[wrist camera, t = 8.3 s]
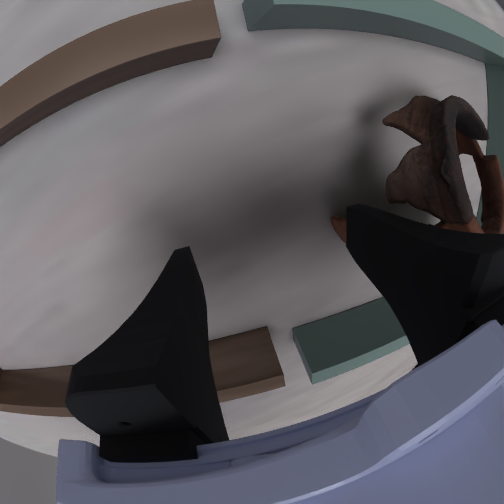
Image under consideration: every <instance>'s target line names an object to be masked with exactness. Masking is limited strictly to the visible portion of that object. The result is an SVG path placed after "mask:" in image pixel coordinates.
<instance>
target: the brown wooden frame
mask: <svg viewBox="0 0 504 504" xmlns="http://www.w3.org/2000/svg"><path fill="white" fill-rule="evenodd" d="M220 39H221V34H220V29H219V25H218V20H217V15H216V10H215V5H214V1H213V0H191V1H186V2H182V3H177V4H173V5H169V6H165V7H161V8H157V9H154V10H150V11H147V12H144V13H140V14H137V15H134V16H131V17H128V18H125V19H123V20H120V21H117V22H115V23H112V24H109V25H107V26H104V27H102V28H100V29H97V30H95V31H93V32H90V33H88V34H86V35H84V36H82V37H80V38H78V39H76V40H74V41H72V42H70V43H68V44H66V45H64V46H62V47H60V48H58V49H57V50H55V51H53V52H51V53H50V54H48V55H46V56H44V57H43V58H41V59H39V60H38V61H36V62H35V63H33V64H32V65H30V66H28V67H27V68H25V69H24V70H23V71H21V72H20V73H18V74H17V75H15V76H14V77H13V78H11V79H10V80H8V81H7V82H6V83H4V84H3V85H2V86H1V87H0V147H1V146H2V145H3V144H5V143H6V142H8V141H9V140H11V139H12V138H14V137H15V136H17V135H18V134H20V133H21V132H23V131H24V130H26V129H27V128H29V127H31V126H32V125H34V124H36V123H37V122H39V121H41V120H42V119H44V118H46V117H48V116H49V115H51V114H53V113H55V112H57V111H59V110H61V109H62V108H64V107H66V106H68V105H70V104H72V103H74V102H77V101H79V100H81V99H83V98H85V97H87V96H89V95H92V94H94V93H96V92H99V91H101V90H103V89H106V88H108V87H111V86H113V85H116V84H118V83H121V82H124V81H127V80H129V79H132V78H135V77H138V76H141V75H144V74H147V73H150V72H154V71H157V70H160V69H164V68H167V67H171V66H175V65H179V64H183V63H187V62H191V61H195V60H200V59H205V58H210V57H212V55H213V53H214V51H215V49H216V47H217V45H218V43H219V41H220ZM209 354H210V361H211V366H212V372H213V377H214V382H215V386H216V391H217V395H218V400H219V402H224V401H229V400H233V399H238V398H242V397H246V396H250V395H254V394H258V393H262V392H266V391H269V390H273V389H277V388H280V387H283V386H285V380H284V374H283V372H282V369H281V366H280V363H279V360H278V357H277V354H276V351H275V348H274V346H273V343H272V340H271V337H270V334H269V331H268V328H267V327H263V328H259V329H256V330H252V331H248V332H244V333H241V334H237V335H233V336H229V337H225V338H221V339H217V340H212V341H209ZM72 366H73V365H71V366H62V367H52V368H40V369H26V370H6V371H2V370H1V369H0V411H4V412H12V413H20V414H29V415H41V416H59V417H74V416H73V415H72V414H71V413H70V412H69V410H68V409H67V407H66V405H65V397H66V392H67V387H68V383H69V378H70V373H71V369H72Z"/></svg>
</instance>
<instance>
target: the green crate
mask: <svg viewBox="0 0 504 504" xmlns="http://www.w3.org/2000/svg"><path fill="white" fill-rule="evenodd" d="M242 5H243V10H244V14H245V19H246V24H247V28H248V31H256V30H268V29H288V28H320V29H340V30H352V31H361V32H369V33H377V34H383V35H389V36H395V37H400V38H405V39H410V40H414V41H418V42H422V43H426V44H430V45H434V46H437V47H441V48H444V49H447V50H451V51H454V52H457V53H460V54H462V55H465V56H468V57H471V58H473V59H476V60H478V61H481V62H483V63H485V65H486V75H487V89H488V134H489V139H488V140H487V153H486V156H488V155H497V157H498V160H499V163H500V167H501V172H502V177H503V183H504V37H502V36H500V35H499V34H497V33H496V32H494V31H493V30H491V29H489V28H488V27H486V26H484V25H482V24H481V23H479V22H477V21H475V20H473V19H472V18H470V17H468V16H466V15H464V14H462V13H460V12H458V11H456V10H454V9H452V8H449V7H447V6H445V5H443V4H440V3H438V2H436V1H433V0H244V2H243V3H242ZM481 214H482V194H481V199H480V204H479V209H478V214H477V221H478V223H479V225H480V227H481V226H482V223H481ZM503 234H504V233H503ZM293 335H294V342H295V345H296V347H297V349H298V352H299V354H300V357H301V359H302V361H303V364H304V366H305V369H306V371H307V373H308V376H309V378H310V381H311V383H312V384H315V383H318V382H321V381H324V380H326V379H329V378H332V377H335V376H337V375H340V374H343V373H345V372H348V371H350V370H353V369H355V368H358V367H360V366H362V365H365V364H367V363H369V362H372V361H374V360H376V359H379V358H381V357H383V356H385V355H387V354H389V353H392V352H394V351H396V350H398V349H400V348H402V347H404V346H406V345H408V344H410V343H409V340H408V338H407V336H406V334H405V332H404V330H403V328H402V326H401V324H400V323H399V321H398V319H397V317H396V315H395V314H394V312H393V310H392V309H391V307H390V305H389V304H388V302H387V301H386V299H385V298H384V297H382V298H380V299H377V300H374V301H372V302H369V303H366V304H364V305H361V306H358V307H356V308H353V309H350V310H347V311H345V312H342V313H339V314H336V315H333V316H330V317H327V318H324V319H321V320H318V321H315V322H312V323H309V324H306V325H302V326H299V327H296V328H293Z"/></svg>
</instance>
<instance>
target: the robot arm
mask: <svg viewBox="0 0 504 504" xmlns="http://www.w3.org/2000/svg"><path fill="white" fill-rule="evenodd" d="M346 247H347V249H348V250H349V252H350V254H351V255H352V257H353V259H354V260H355V262H356V263H357V265H358V266H359V267H360V268H361V270H362V271H363V272H364V273H365V274H366V276H367V277H368V278H369V279H370V280H371V282H372V283H373V284H374V285H375V287H376V288H377V289H378V290H379V292H380V293H381V294H382V295H383V297H384V298H385V299H386V301H387V302H388V304H389V305H390V307H391V309H392V310H393V312H394V314H395V315H396V317H397V319H398V321H399V323H400V324H401V326H402V328H403V330H404V332H405V334H406V336H407V338H408V340H409V343H410V345H411V347H412V349H413V352H414V354H415V357H416V359H417V362H418V365H419V367H417V368H415V369H414V370H412V371H411V372H409V373H407V374H406V375H404V376H403V377H401V378H400V379H398V380H396V381H395V382H393V383H392V384H391V385H390V386H388V387H387V388H386V389H384V390H382V391H380V392H377V393H375V394H373V395H371V396H369V397H366V398H364V399H362V400H360V401H357V402H355V403H352V404H350V405H348V406H345V407H343V408H340V409H337V410H335V411H332V412H330V413H327V414H324V415H321V416H318V417H316V418H313V419H310V420H307V421H303V422H300V423H297V424H294V425H291V426H287V427H284V428H280V429H276V430H273V431H269V432H265V433H261V434H257V435H253V436H248V437H244V438H239V439H234V440H229V438H228V434H227V431H226V427H225V423H224V420H223V416H222V412H221V408H220V404H219V400H218V395H217V391H216V386H215V382H214V377H213V372H212V366H211V361H210V354H209V341H208V323H207V305H206V300H205V294H204V288H203V284H202V281H201V278H200V276H199V273H198V270H197V267H196V264H195V261H194V259H193V256H192V253H191V250H190V247H189V246H188V247H184V248H180V249H177V250H175V251H174V252H173V254H172V256H171V257H170V259H169V261H168V262H167V264H166V266H165V268H164V269H163V271H162V273H161V274H160V276H159V278H158V280H157V281H156V283H155V284H154V285H153V287H152V288H151V290H150V291H149V293H148V295H147V296H146V297H145V299H144V300H143V301H142V303H141V304H140V305H139V306H138V308H137V309H136V310H135V311H134V313H133V314H132V315H131V316H130V317H129V318H128V319H127V320H126V321H125V322H124V323H123V324H122V325H121V326H120V328H119V329H118V330H117V331H116V332H115V333H114V334H112V335H111V336H110V337H109V338H108V339H107V340H106V341H105V342H104V343H102V344H101V345H100V346H99V347H98V348H96V349H95V350H94V351H93V352H91V353H90V354H89V355H87V356H86V357H85V358H83V359H82V360H81V361H79V362H78V363H76V364H75V365H73V366H72V369H71V373H70V378H69V383H68V387H67V392H66V397H65V405H66V407H67V409H68V410H69V412H70V413H71V414H72V415H73V416H74V417H75V418H76V419H77V420H79V421H80V422H81V423H83V424H84V425H86V426H87V427H89V428H90V429H91V430H93V431H94V432H96V433H97V434H99V435H100V447H98V446H97V445H95V444H93V443H90V442H87V441H80V440H66V439H60V440H59V448H58V459H57V477H56V478H57V479H56V502H57V503H58V504H504V234H484V233H471V232H462V231H456V230H450V229H444V228H440V227H435V226H431V225H427V224H423V223H420V222H416V221H413V220H410V219H407V218H403V217H400V216H397V215H394V214H391V213H388V212H385V211H382V210H379V209H376V208H373V207H369V206H365V205H360V204H357V205H352V206H348V207H346Z"/></svg>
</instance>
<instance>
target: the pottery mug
mask: <svg viewBox="0 0 504 504" xmlns="http://www.w3.org/2000/svg"><path fill="white" fill-rule="evenodd" d="M382 122H383V124H384V125H386V126H390V127H394V128H397V129H399V130H401V131H403V132H404V133H406V134H407V135H409V136H410V137H412V138H413V139H415V140H417V141H418V142H419V143H421V145H420V146H417V147H414V148H412V149H410V150H409V151H408V152H407V153H406V155H405V156H404V157H403V159H402V160H401V162H400V164H399V166H398V167H397V169H396V170H395V171H393V172H392V173H391V174H390V175H389V176H388V178H387V181H386V200H387V202H388V203H390V204H394V203H401V204H402V203H409V204H410V205H412V206H413V207H415V208H417V209H419V210H422V211H425V212H428V213H429V214H431V215H433V216H434V217H436V218H439V219H440V220H441V221H440V222H439V223H437V224H436V225H435V227H440V228H444V229H450V230H456V231H462V232H471V233H484V234H503V233H504V183H503V177H502V172H501V167H500V163H499V160H498V157H497V155H488V156H484V155H483V153H482V151H481V148H480V146H479V144H478V142H477V140H488V139H489V134H488V132H487V130H486V128H485V125H484V123H483V122H482V120H481V118H480V117H479V115H478V114H477V113H476V111H475V110H474V109H473V108H472V106H471V105H469V103H468V102H466V101H465V100H464V99H462V98H460V97H456V96H452V95H451V96H449V97H448V98H446V99H444V100H442V101H439V100H436V99H433V98H430V97H427V96H415V97H414V98H412V100H411V101H410V102H409V104H407V105H406V106H405V107H403V108H401V109H400V110H398V111H395V112H393V113H391V114H390V115H388V116H387V117H386V118H384V119H383V121H382ZM463 153H464V154H468V155H472V156H473V159H474V162H475V164H476V168H477V172H478V175H479V178H480V181H481V187H482V192H481V194H482V214H481V223H482V226H481V227H480V225H479V223H478V221H477V219H476V217H475V215H474V214H473V209H472V206H471V202H470V199H469V196H468V193H467V190H466V185H465V182H464V177H463V173H462V168H461V163H460V159H459V155H460V154H463ZM331 223H332V225H333V227H334V229H335V231H336V233H337V234H338V235H339V237H340V238H341V239H342V240H343V241H344V242H345V243H346V218H344V219H343V218H341V217H337V216H334V217H332V218H331ZM428 225H431V224H428ZM431 226H434V225H431Z"/></svg>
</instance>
